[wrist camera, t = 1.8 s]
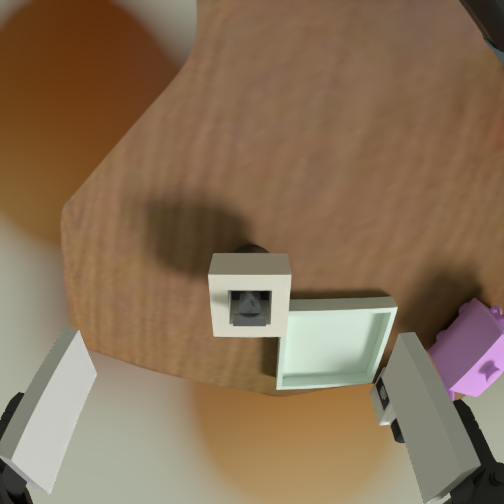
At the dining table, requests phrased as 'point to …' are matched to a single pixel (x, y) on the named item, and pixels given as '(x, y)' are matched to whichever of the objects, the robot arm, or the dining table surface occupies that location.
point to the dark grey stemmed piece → (249, 298)
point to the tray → (333, 342)
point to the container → (385, 408)
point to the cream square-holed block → (249, 278)
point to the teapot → (471, 349)
